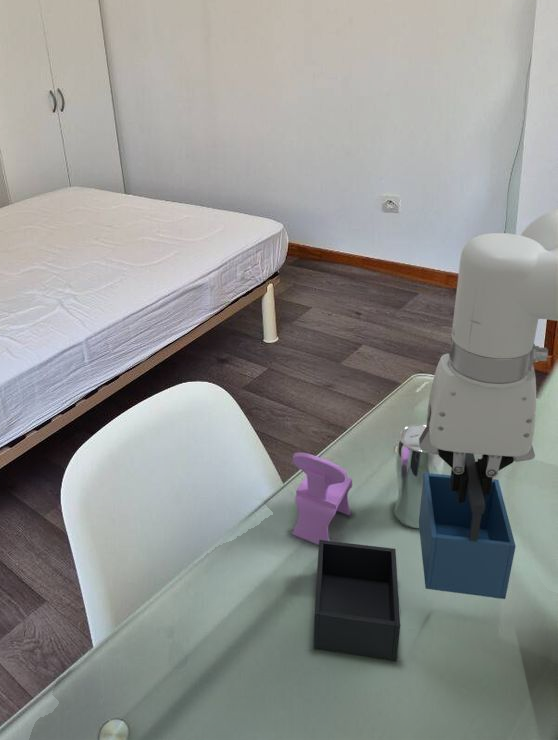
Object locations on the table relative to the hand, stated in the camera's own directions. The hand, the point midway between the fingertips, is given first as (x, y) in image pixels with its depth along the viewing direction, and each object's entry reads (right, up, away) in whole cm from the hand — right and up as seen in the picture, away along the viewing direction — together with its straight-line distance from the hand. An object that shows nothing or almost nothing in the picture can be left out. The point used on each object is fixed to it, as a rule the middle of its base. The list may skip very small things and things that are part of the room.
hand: (468, 494), depth 77 cm
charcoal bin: (-9, -21, +15) cm, 27 cm away
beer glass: (+4, -12, +30) cm, 33 cm away
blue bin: (+1, -9, +4) cm, 10 cm away
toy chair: (-10, -13, +30) cm, 35 cm away
